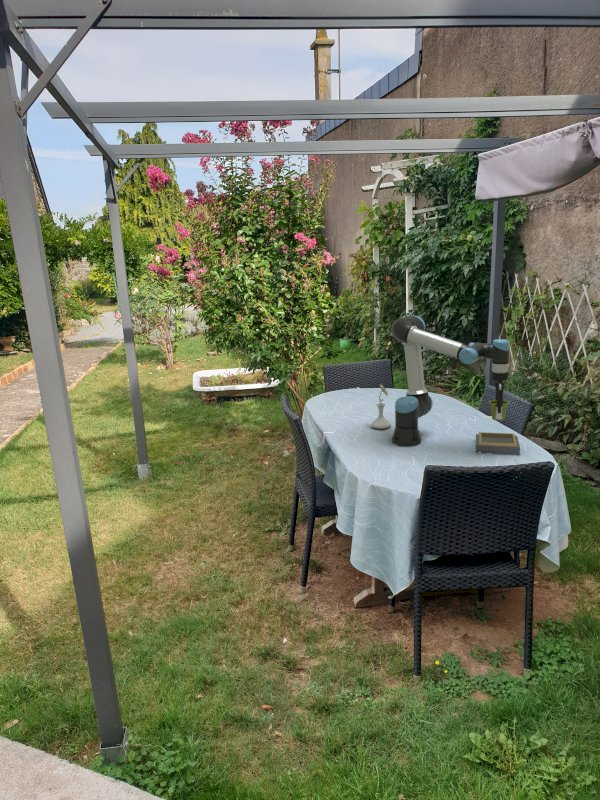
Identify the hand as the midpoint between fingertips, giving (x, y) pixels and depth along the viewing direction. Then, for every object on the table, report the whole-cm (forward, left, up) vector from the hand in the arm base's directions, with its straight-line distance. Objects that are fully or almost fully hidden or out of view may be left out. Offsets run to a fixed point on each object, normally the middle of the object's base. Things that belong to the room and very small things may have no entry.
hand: (498, 416), depth 281 cm
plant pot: (0, 0, -2) cm, 2 cm away
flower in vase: (-62, +27, -17) cm, 70 cm away
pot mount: (0, 0, -17) cm, 17 cm away
